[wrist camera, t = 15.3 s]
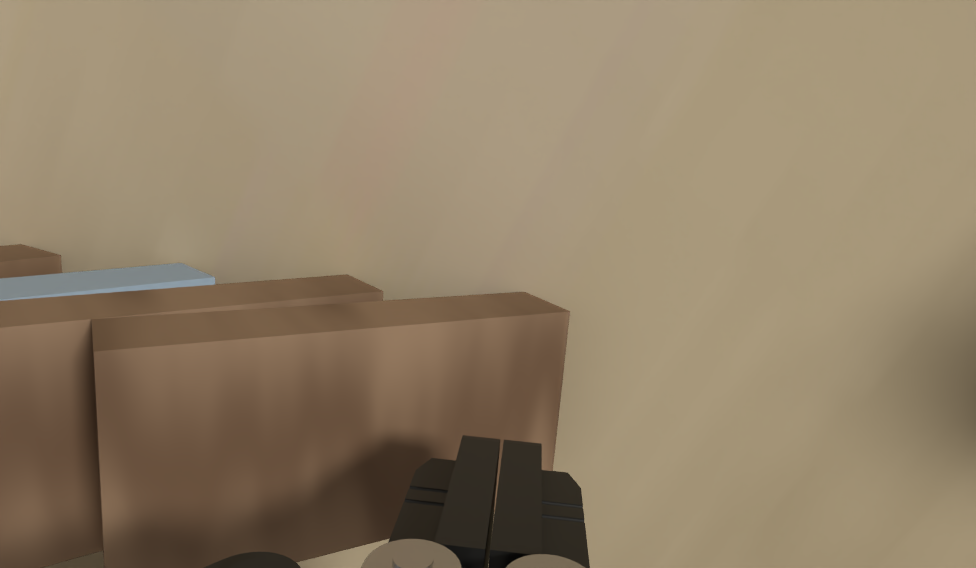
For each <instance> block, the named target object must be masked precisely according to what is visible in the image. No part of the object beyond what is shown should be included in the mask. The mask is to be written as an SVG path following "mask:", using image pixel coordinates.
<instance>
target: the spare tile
mask: <svg viewBox="0 0 976 568" xmlns="http://www.w3.org/2000/svg"><path fill="white" fill-rule="evenodd" d="M203 285H215V277H213V276H211V275H209V274H206V273H204V272H201V271H199V270H197V269H194V268H192V267H190V266H187V265H185V264H182V263H175V264H164V265H152V266H140V267H129V268H117V269H106V270H94V271H82V272H71V273H59V274H47V275H36V276H24V277H13V278H1V279H0V301H5V300H18V299H31V298H45V297H58V296H71V295H84V294H97V293H111V292H124V291H137V290H150V289H164V288H177V287H190V286H203Z"/></svg>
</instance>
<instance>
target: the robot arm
mask: <svg viewBox="0 0 976 568" xmlns="http://www.w3.org/2000/svg"><path fill="white" fill-rule="evenodd" d="M499 452H500V439H494V438H485V437H476V436H467V435H463V436H462V439H461V443H460V447H459V450H458V454H457V458H456V460H447V459H438V458H431V459H430V460H428V461H427V462H426V463H424V464H423V465H422V466H420V467H419V468H418V469H416V470H415V473H414V476H413V478H412V481H411V484H410V488H409V489H408V492H407V494H406V497H405V501H404V502H403V505H402V508H401V510H400V513H399V515H398V518H397V521H396V523H395V526H394V529H393V531H392V534H391V537H390V539H389V542H388V543H386V544H384V545H381V546H379V547H378V548H376V549H375V550H373V551H372V552H371V553H370V554H369V555H368V556H367V558H366V559H365V561H364V563H363V565H362V566H361V568H590V566H589V557H588V548H587V539H586V530H585V523H584V512H583V503H582V494H581V488H580V487H579V486H578V484H577V483H576V482H575V481H574V480H573V478H572V477H571V476H570V475H569V474H568V473H565V472H556V471H547V470H542V444H541V443H532V442H523V441H514V440H505V439H504V442H503V450H502V458H501V466H500V474H499V482H498V490H497V498H496V506H495V496H496V485H497V474H498V463H499ZM494 507H495V514H494ZM493 518H494V522H493ZM492 528H493V530H492ZM489 555H490V556H489ZM488 563H489V567H488ZM204 568H300V566H299V565H298V564H297V563H296V562H295V561H293V560H292V559H290V558H288V557H286V556H284V555H281V554H277V553H272V552H248V553H241V554H237V555H234V556H230V557H228V558H225V559H222V560H220V561H218V562H215V563H213V564H211V565H208V566H206V567H204Z"/></svg>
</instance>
